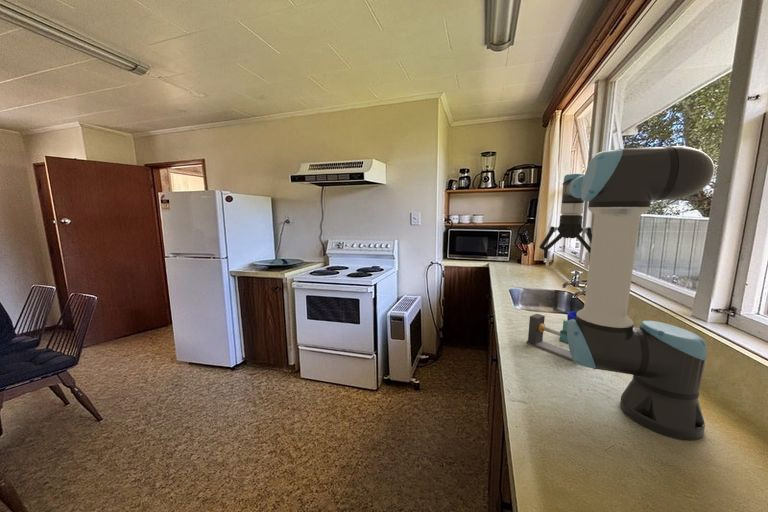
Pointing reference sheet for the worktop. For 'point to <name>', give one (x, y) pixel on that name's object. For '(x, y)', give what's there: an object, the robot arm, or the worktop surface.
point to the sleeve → (564, 333)
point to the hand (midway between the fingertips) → (566, 267)
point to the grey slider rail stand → (537, 336)
